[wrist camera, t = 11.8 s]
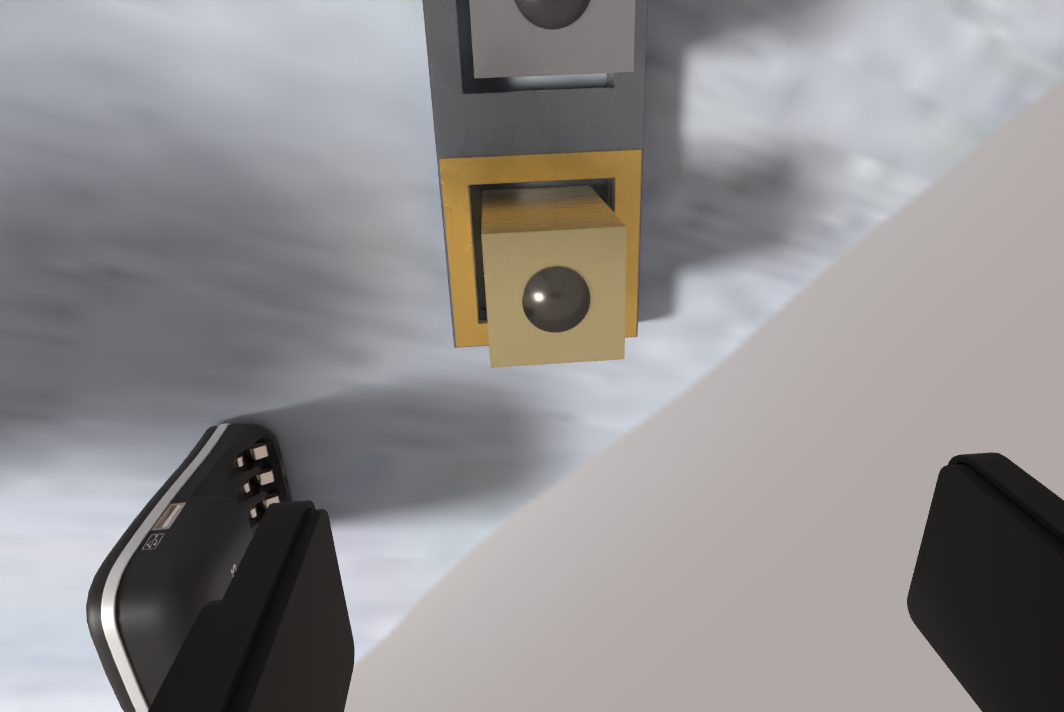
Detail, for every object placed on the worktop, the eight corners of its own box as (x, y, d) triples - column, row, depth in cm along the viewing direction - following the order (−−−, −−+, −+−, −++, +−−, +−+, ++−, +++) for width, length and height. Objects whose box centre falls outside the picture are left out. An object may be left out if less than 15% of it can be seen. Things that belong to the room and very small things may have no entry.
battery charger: (315, 531, 34) (239, 739, 23) (240, 537, 34) (130, 749, 23) (289, 412, 31) (190, 587, 20) (207, 418, 31) (64, 597, 20)
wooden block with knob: (482, 190, 27) (481, 235, 20) (589, 185, 28) (627, 227, 20) (489, 292, 29) (490, 368, 22) (590, 287, 29) (624, 360, 22)
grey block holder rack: (382, -481, 19) (373, -532, 18) (649, -483, 20) (664, -533, 18) (455, 333, 30) (454, 349, 28) (629, 323, 30) (638, 338, 29)
